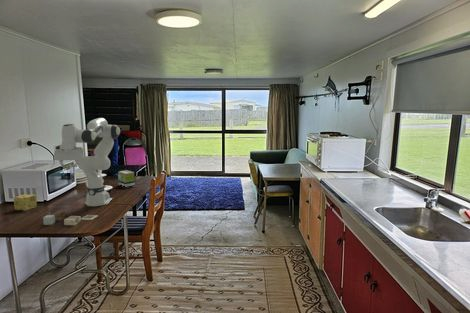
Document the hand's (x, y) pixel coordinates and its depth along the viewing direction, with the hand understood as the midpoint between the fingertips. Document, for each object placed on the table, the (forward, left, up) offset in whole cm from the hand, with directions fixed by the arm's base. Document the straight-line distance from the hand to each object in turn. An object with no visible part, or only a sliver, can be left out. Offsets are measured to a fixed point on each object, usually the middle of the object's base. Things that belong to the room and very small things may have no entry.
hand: (69, 166), depth 204 cm
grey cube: (+15, -6, -36) cm, 39 cm away
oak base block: (+13, +9, -36) cm, 39 cm away
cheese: (-12, -46, -36) cm, 59 cm away
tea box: (-91, -3, -36) cm, 98 cm away
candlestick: (-67, -19, -36) cm, 78 cm away
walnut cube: (+7, -5, -36) cm, 37 cm away
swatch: (+2, +14, -36) cm, 38 cm away
